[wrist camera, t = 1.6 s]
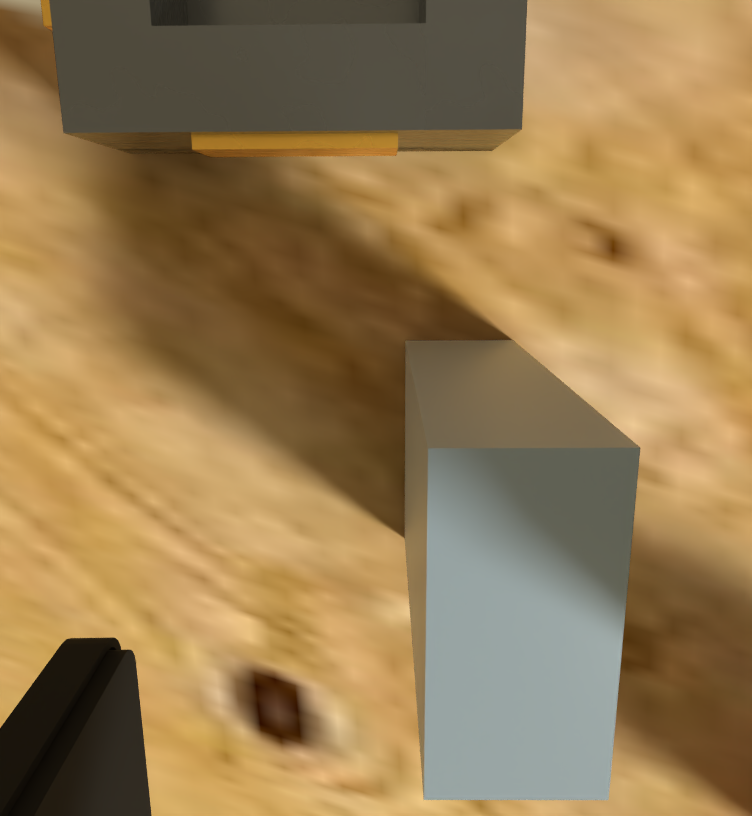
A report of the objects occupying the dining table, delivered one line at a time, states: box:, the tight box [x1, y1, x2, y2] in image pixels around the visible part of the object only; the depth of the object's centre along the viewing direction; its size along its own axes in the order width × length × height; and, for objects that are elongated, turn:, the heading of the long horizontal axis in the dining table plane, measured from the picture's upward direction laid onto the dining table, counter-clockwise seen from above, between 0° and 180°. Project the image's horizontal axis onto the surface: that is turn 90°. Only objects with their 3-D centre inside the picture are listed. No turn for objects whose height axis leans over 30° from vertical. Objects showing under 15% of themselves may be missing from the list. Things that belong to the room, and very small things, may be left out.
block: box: [405, 340, 640, 800], centre depth 16 cm, size 3×6×10 cm, turn 0°
